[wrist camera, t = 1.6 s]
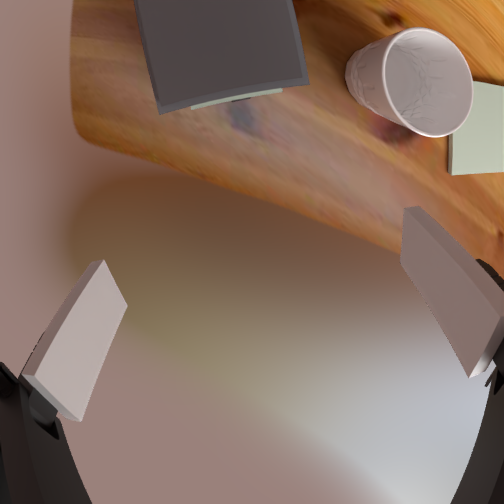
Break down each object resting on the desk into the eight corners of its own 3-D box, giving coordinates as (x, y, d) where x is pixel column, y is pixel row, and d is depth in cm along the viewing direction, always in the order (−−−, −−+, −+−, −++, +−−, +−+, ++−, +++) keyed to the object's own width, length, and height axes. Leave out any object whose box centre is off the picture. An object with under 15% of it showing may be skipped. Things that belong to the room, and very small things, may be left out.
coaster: (445, 77, 21) (449, 77, 21) (507, 87, 20) (511, 88, 20) (448, 172, 27) (451, 175, 26) (506, 169, 26) (510, 171, 25)
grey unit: (176, 8, 19) (124, -37, 8) (264, -10, 18) (272, -72, 7) (199, 108, 24) (158, 126, 14) (286, 91, 24) (313, 95, 13)
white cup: (424, 89, 22) (487, 102, 14) (372, 132, 25) (424, 159, 17) (378, 27, 20) (433, 9, 11) (321, 70, 22) (357, 63, 14)
